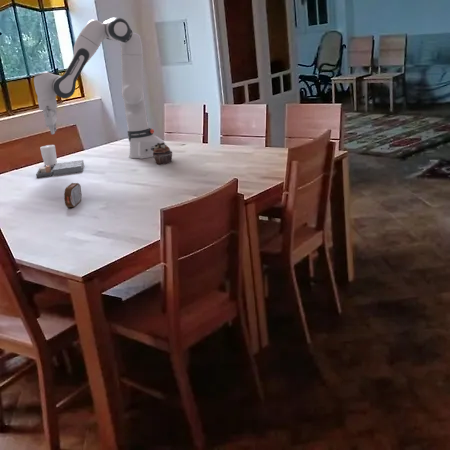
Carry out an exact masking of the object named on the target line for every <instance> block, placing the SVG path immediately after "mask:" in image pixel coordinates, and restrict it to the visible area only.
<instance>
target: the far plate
mask: <svg viewBox="0 0 450 450" xmlns="http://www.w3.org/2000/svg"><path fill="white" fill-rule="evenodd" d="M54 166H55V167H54V169H53V173H54V175H53V177H54V176H55V177H56V176H63V175H70V174H75V173H76V174H77V173H83V171H84V167H85V163H84V159H81V160H73V161H72V160H71V161H66V162H59V163H58V162H57V164H55V165H54Z"/></svg>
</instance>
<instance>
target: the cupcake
mask: <svg viewBox="0 0 450 450" xmlns="http://www.w3.org/2000/svg"><path fill="white" fill-rule="evenodd" d="M154 148H155V149H154V150H153V156H154V157H153V158H154V161H155V164H156V165H159V166H162V165H168V164H171V163H173V162H172V161H173V151H170V150H171V148H170V147H169V146H168V145H167V144H166V143H157V145H155V146H154Z"/></svg>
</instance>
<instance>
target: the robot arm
mask: <svg viewBox="0 0 450 450" xmlns="http://www.w3.org/2000/svg"><path fill="white" fill-rule="evenodd" d="M106 39H107V40H109V41H114V42H118V43H119V44H120V48H121V49H120V50H121V51H120V52H121V54H120V56H121V57H120V58H121V59H120V60H121V63H120V65H121V97H122V100H123V105H124V111H125V118H126V119H125V120H126V126H127V138H128V139H127V140H128V141H129V154H128V157H129V158H130V159H148V158H152V157H153V158H154V156H153V150H154V149H155V148H154V146H155V145H157V143H165V141H164V140H163V138H161V137H159V136H157V135H155V134H154V133H155V130H154V129H153V128H151V127H149V121H148V114H147V108H146V107H147V105H146V99H145V93H144V56H143V54H144V50H143V49H144V48H143V43H142V38H141V35H140V34H139V33H137V32H134V31H132V29H131V26H130V24H129V23H128V22H127V20H125V19H124V18H121V17H110V18H108V19H105V20H104V21H102V22H101V21H100V20H98V19H90V20H89V21H88V22H87V23H86V24H85V26H84V27H83V28H82V29H81V30H80V33H79V35H78V36H77V38H76V40H75V42H74V45H73V56H72V60H71V61H70V63H69V65H68V67H67V69H66V71H65V72H64V73H63V75H58V74H54V73H52V72H50V71H46V70H45V71H43V72H39V73H37V74H35V75H34V77H33V84H34V89H35V94H36V95H37V103H38V107H39V111H42V113H43V117H44V122H45V126H46V127H48V128H49V131H50V135H55V134H56V132H57V121H58V114H57V109H58V106H59V105H58V102H57V97H59V98H61V99H69V98H71V97H72V96H73V95H74V94H75V91H76V87H77V86H76V84H77V81H78V78H79V76H80V75H81V73H82V71H83V69H84V67H85V66H86V64H87V63H88V62H89V61H90V60H91V59H92V57H94V55H95V54H96V52H97V51H98V49H99V47H100V46H101V44H102V42H103V41H104V40H106ZM165 144H166V143H165ZM170 151H171V149H170ZM171 152H172V151H171Z"/></svg>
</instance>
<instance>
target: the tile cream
mask: <svg viewBox="0 0 450 450" xmlns="http://www.w3.org/2000/svg"><path fill="white" fill-rule="evenodd" d="M45 167H46V166H41V167H40V168H39V169H40V172H41V173H43V172H46V169H45Z"/></svg>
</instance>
